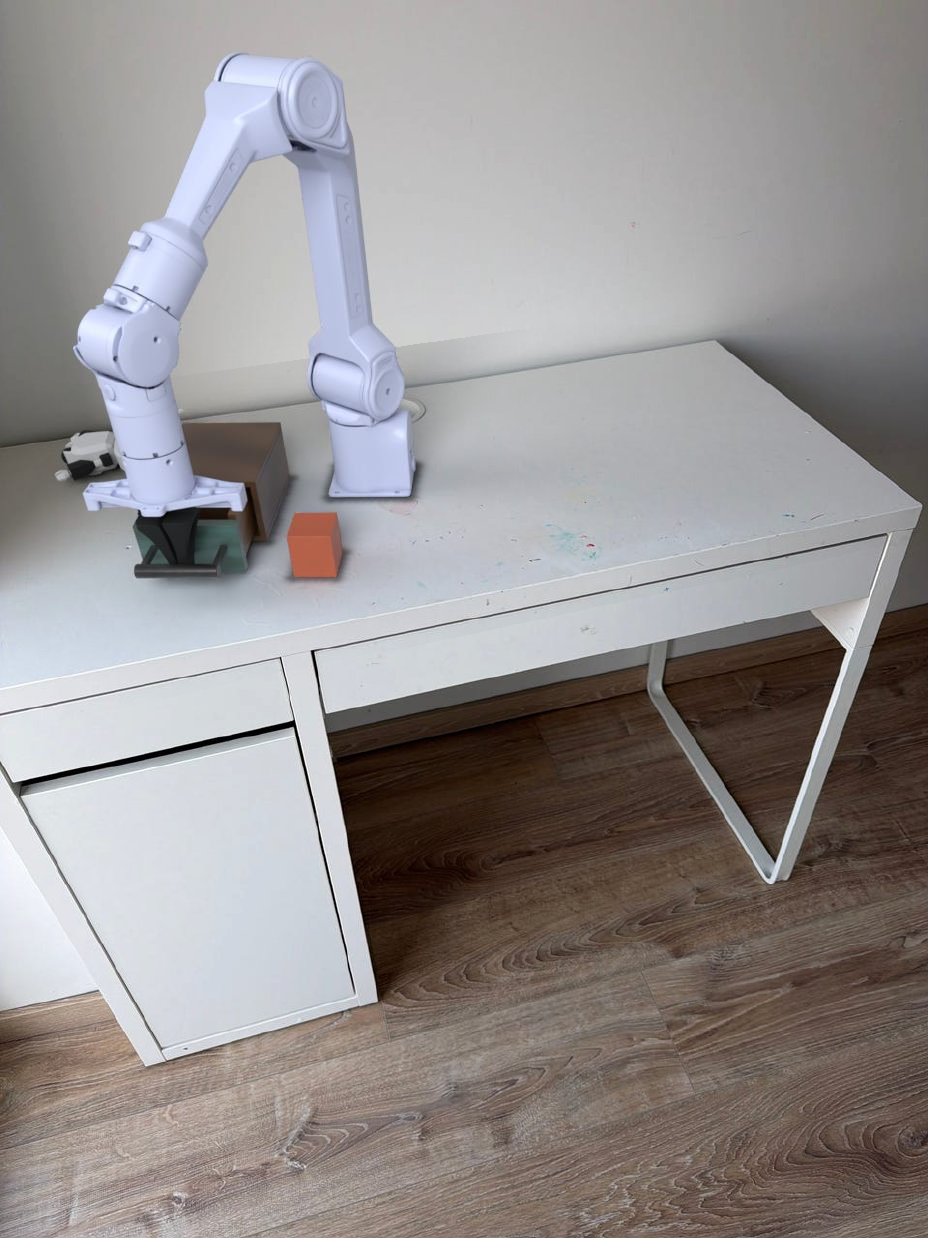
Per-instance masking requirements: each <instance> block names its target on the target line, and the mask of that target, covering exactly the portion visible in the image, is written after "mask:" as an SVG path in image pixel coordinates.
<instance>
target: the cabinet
mask: <svg viewBox="0 0 928 1238" xmlns="http://www.w3.org/2000/svg"><path fill="white" fill-rule="evenodd" d="M182 429H183V433H184V438H185V441H186V446H187V450H188V454H189V458H190V462H191V467H192V471H193V475H196V476H201V477H206V478H211V479H216V480H221V481H226V482H235V483H244V486H245V487H250V490H251V495H252V500H253V504H254V509H255V514H256V519H257V524H258V525H257V528H256V530H255V533H254V535H253V538H252V540H251V542H268V540H269V538H270V535H271V532H272V529H273V527H274V524H275V521H276V518H277V515H278V514H279V511H280V507H281V505H282V502H283V500H284V496H285V494H286V491H287V488H288V486H289V483H290V481H291V474H290V469H289V463H288V457H287V452H286V451H287V450H286V447H285V446H286V445H285V441H284V434H283V429H282V422H279V421H271V422H268V421H267V422H266V421H265V422H263V421H262V422H261V421H259V422H253V421H252V422H182Z"/></svg>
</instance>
